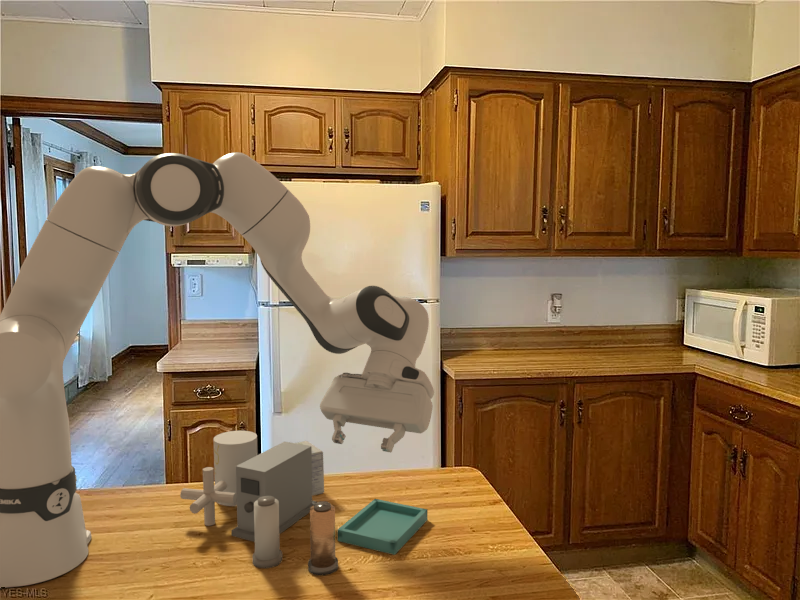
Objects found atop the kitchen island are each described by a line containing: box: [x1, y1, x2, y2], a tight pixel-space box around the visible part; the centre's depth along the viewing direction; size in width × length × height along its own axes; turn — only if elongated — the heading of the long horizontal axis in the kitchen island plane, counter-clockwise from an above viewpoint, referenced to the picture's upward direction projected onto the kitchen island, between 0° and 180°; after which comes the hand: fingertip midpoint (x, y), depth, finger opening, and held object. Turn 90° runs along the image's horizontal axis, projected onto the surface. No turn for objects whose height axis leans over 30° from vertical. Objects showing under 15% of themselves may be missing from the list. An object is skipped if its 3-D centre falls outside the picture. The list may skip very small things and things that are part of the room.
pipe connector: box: [179, 466, 237, 527], centre depth 113 cm, size 10×10×10 cm
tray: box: [336, 498, 428, 556], centre depth 111 cm, size 11×14×2 cm
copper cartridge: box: [307, 500, 339, 577], centre depth 98 cm, size 5×5×10 cm
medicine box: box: [295, 440, 325, 497], centre depth 128 cm, size 8×4×9 cm, turn 32°
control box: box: [231, 441, 318, 543], centre depth 114 cm, size 7×16×12 cm, turn 155°
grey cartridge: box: [252, 496, 283, 569], centre depth 100 cm, size 5×5×10 cm
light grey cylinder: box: [213, 430, 259, 507], centre depth 124 cm, size 8×8×12 cm
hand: (360, 446), depth 108 cm, fingers open, 8 cm apart
